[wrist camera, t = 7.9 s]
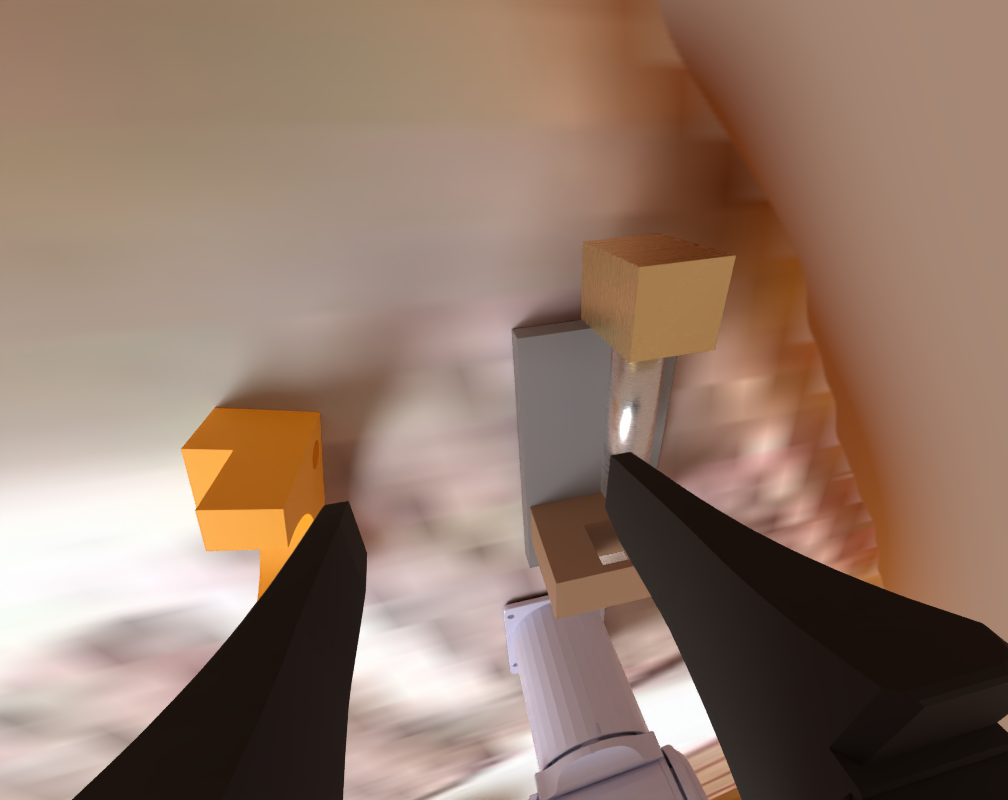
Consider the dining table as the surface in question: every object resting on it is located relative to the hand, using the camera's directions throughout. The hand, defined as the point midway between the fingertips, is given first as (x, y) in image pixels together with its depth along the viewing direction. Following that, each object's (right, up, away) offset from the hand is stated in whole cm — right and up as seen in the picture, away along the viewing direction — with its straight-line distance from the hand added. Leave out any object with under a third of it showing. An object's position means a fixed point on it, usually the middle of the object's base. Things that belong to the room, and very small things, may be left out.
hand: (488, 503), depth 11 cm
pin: (+5, +4, +7) cm, 10 cm away
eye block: (+5, +1, +12) cm, 13 cm away
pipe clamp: (-11, -3, +10) cm, 16 cm away
